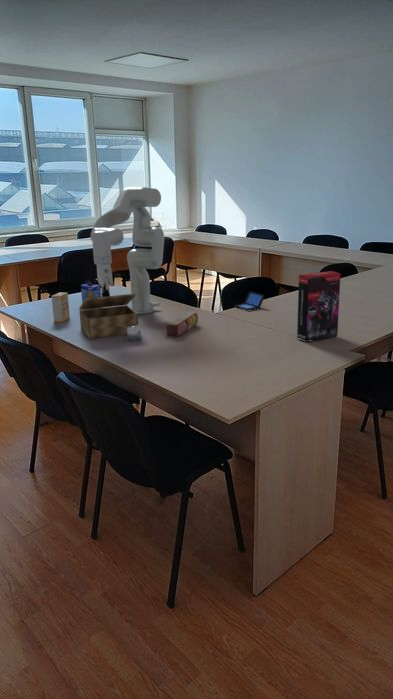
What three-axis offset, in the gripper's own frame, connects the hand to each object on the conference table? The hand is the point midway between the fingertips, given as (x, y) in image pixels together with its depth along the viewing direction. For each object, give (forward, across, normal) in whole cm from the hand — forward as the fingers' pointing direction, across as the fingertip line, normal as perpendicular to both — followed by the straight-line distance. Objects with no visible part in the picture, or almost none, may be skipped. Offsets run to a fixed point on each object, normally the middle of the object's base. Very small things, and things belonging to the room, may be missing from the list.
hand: (106, 301), depth 232 cm
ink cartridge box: (+14, +44, -1) cm, 46 cm away
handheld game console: (+15, +10, -76) cm, 78 cm away
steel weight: (+13, -20, -6) cm, 24 cm away
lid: (0, -2, 0) cm, 2 cm away
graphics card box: (+14, -50, -77) cm, 93 cm away
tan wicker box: (+13, -3, 0) cm, 13 cm away
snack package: (+14, -16, -30) cm, 36 cm away
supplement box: (+14, +24, +17) cm, 33 cm away
